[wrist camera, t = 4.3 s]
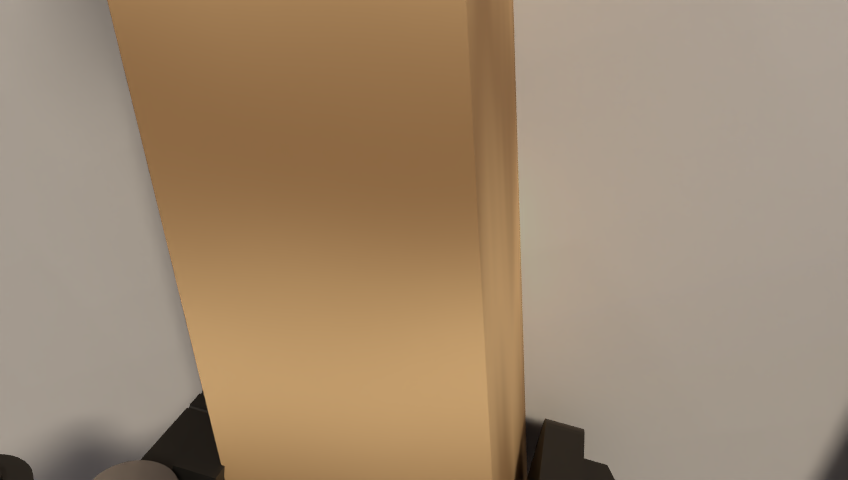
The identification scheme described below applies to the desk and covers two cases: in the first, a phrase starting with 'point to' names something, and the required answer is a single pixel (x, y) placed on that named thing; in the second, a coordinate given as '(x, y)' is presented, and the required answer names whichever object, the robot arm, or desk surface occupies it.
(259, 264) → the oak bar
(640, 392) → the desk surface
